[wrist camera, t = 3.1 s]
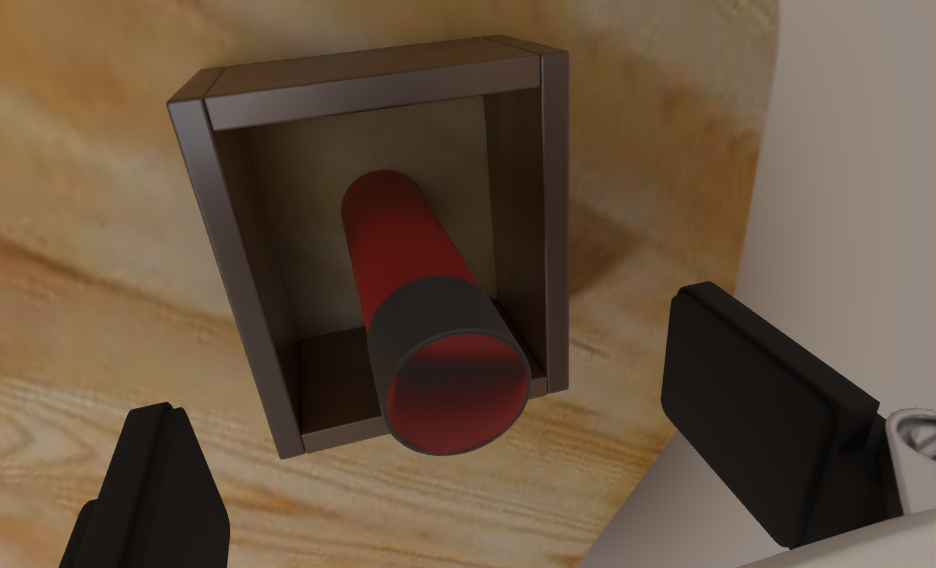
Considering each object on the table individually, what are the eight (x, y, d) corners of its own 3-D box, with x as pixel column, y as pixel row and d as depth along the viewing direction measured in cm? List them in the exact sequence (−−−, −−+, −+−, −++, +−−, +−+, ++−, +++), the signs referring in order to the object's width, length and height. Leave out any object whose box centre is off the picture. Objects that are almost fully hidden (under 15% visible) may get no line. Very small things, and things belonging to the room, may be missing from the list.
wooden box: (502, 34, 19) (570, 50, 15) (516, 311, 24) (570, 390, 20) (198, 69, 18) (164, 101, 13) (282, 361, 23) (280, 461, 18)
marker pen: (420, 162, 21) (530, 314, 11) (430, 242, 22) (534, 436, 13) (332, 176, 20) (368, 349, 11) (348, 257, 21) (393, 472, 12)
